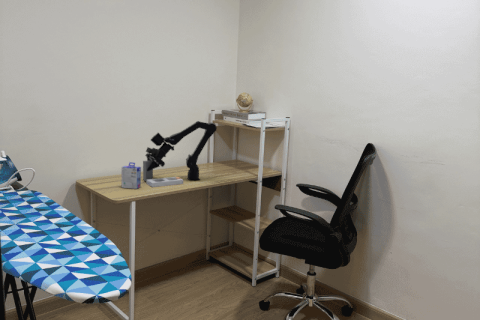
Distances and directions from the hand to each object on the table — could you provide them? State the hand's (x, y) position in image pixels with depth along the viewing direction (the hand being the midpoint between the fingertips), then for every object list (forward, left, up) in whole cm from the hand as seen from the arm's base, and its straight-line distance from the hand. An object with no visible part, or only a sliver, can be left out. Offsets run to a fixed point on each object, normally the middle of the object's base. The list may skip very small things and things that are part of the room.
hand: (145, 170), depth 254 cm
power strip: (-8, +10, -7) cm, 15 cm away
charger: (-1, 0, -7) cm, 7 cm away
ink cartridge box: (+13, +10, -7) cm, 18 cm away
